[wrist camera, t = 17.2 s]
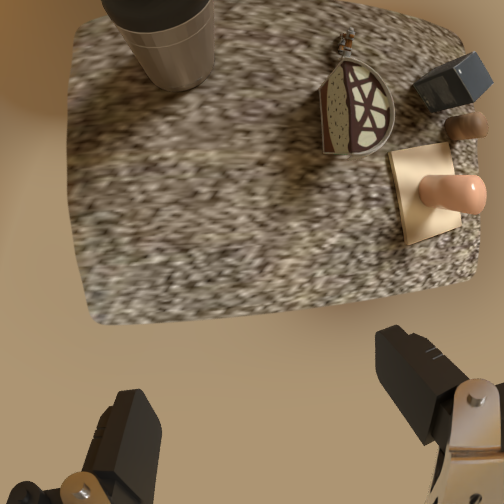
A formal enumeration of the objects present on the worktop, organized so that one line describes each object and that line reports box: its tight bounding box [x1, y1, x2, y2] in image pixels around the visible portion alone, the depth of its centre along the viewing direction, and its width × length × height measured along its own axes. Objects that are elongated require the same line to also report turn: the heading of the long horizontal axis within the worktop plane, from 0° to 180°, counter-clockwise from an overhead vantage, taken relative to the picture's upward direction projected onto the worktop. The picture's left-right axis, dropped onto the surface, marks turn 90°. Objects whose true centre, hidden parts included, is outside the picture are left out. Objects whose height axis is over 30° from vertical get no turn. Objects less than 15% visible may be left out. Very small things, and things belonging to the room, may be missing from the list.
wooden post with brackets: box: [338, 28, 355, 57], centre depth 35 cm, size 2×8×4 cm, turn 175°
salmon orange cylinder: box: [419, 175, 487, 215], centre depth 36 cm, size 5×5×10 cm
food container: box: [319, 56, 395, 161], centre depth 34 cm, size 12×6×10 cm, turn 2°
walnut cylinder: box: [445, 112, 489, 140], centre depth 37 cm, size 4×4×7 cm
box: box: [413, 51, 494, 113], centre depth 33 cm, size 8×6×11 cm
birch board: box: [388, 142, 462, 245], centre depth 41 cm, size 14×12×1 cm
